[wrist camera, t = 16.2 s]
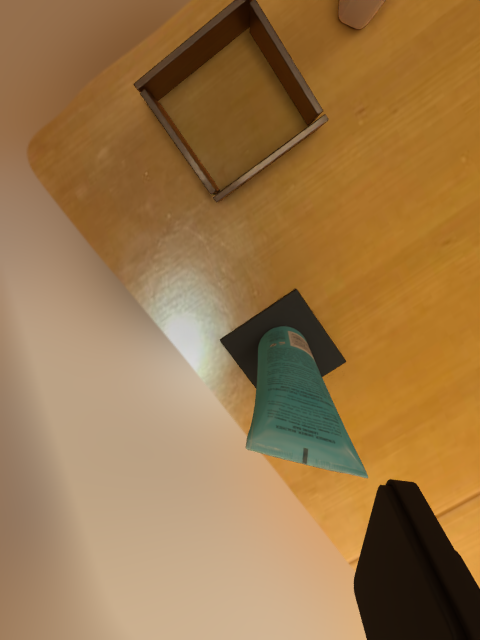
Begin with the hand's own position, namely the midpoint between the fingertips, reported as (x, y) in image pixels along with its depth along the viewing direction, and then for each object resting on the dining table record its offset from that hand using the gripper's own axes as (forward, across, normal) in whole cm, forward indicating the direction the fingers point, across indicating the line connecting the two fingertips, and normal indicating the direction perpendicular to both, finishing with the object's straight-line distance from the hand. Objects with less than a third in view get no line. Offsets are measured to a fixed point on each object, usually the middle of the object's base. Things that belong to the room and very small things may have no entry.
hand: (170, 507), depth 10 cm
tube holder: (+34, +1, -13) cm, 37 cm away
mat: (+34, -7, +8) cm, 36 cm away
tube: (+34, -7, +8) cm, 35 cm away
